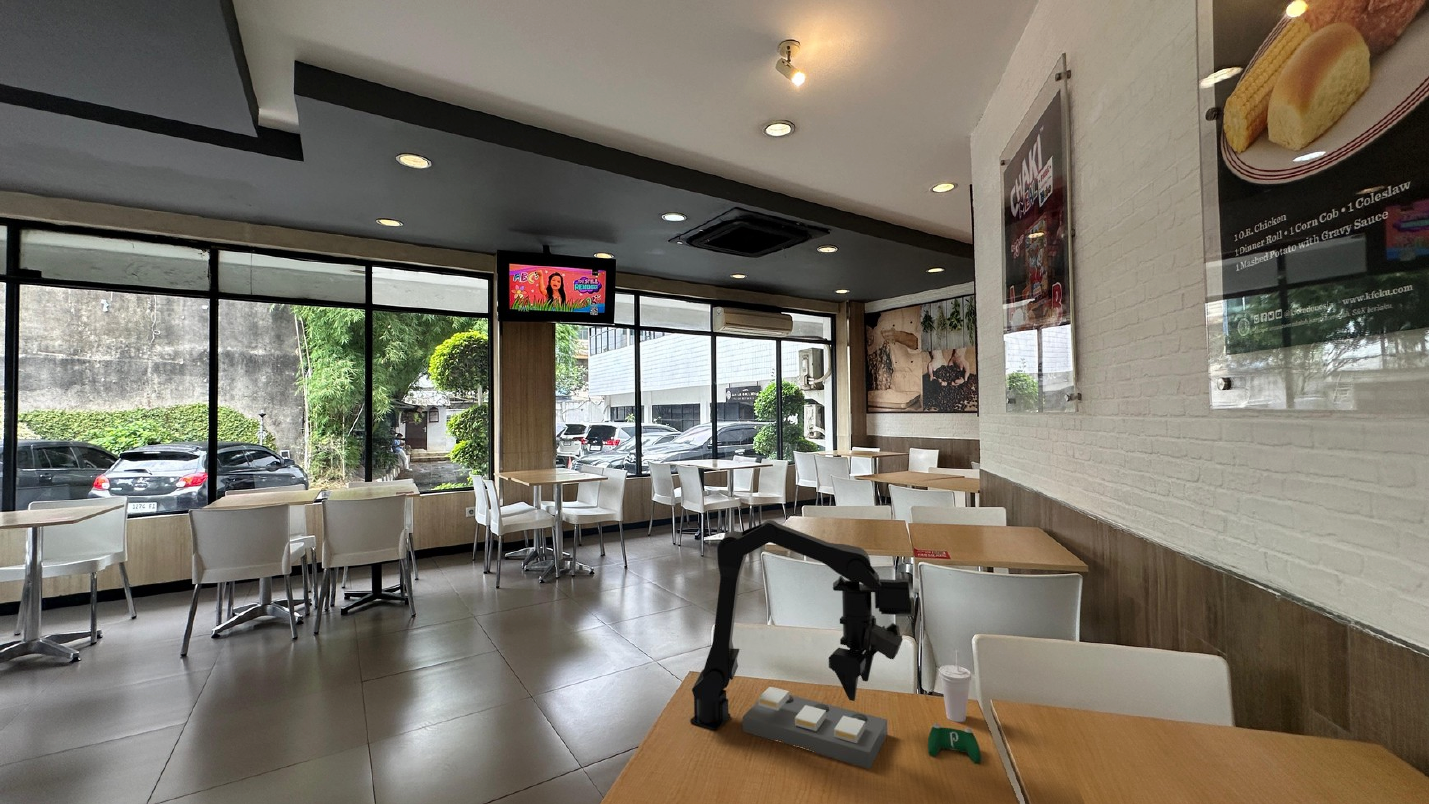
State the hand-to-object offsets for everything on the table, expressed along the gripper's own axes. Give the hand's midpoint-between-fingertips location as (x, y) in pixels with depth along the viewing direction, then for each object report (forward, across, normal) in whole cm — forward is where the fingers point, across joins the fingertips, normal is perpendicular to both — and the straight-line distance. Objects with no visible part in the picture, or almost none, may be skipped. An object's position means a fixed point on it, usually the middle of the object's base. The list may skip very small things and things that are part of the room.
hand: (858, 690), depth 117 cm
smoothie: (+9, +16, -16) cm, 25 cm away
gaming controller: (+10, +3, -17) cm, 20 cm away
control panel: (+9, -4, +8) cm, 13 cm away
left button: (+4, -6, +16) cm, 18 cm away
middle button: (+6, -6, +8) cm, 11 cm away
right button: (+6, -6, 0) cm, 8 cm away
